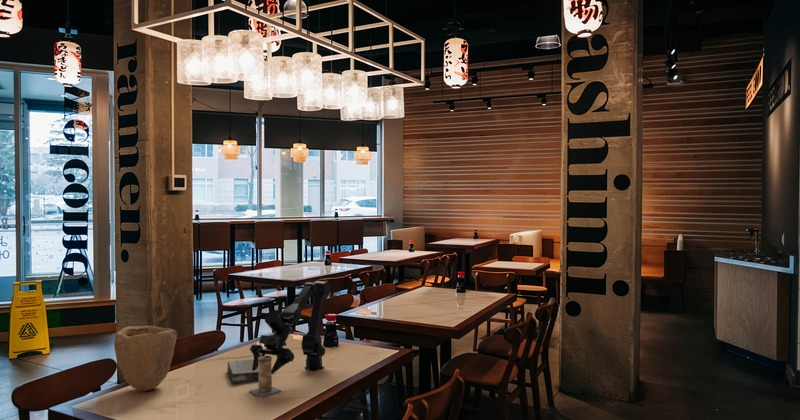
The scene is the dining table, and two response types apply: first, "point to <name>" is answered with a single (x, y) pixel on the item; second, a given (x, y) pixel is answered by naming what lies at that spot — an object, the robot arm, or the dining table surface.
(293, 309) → the robot arm
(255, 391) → the slate mat
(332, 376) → the dining table surface
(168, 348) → the bowl
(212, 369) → the dining table surface
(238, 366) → the stone block
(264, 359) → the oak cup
